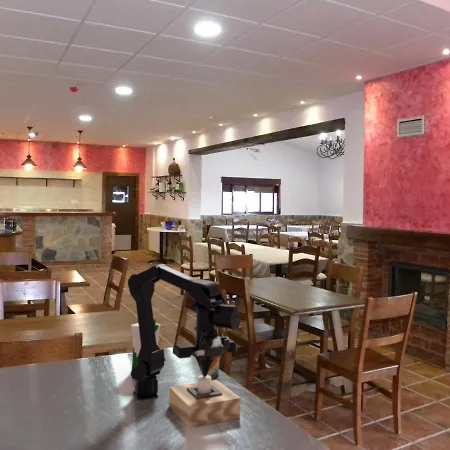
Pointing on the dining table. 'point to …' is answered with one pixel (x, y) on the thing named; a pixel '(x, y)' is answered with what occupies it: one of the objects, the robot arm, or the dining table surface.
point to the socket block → (204, 404)
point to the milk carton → (137, 341)
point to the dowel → (204, 384)
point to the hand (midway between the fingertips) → (204, 376)
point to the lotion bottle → (214, 367)
